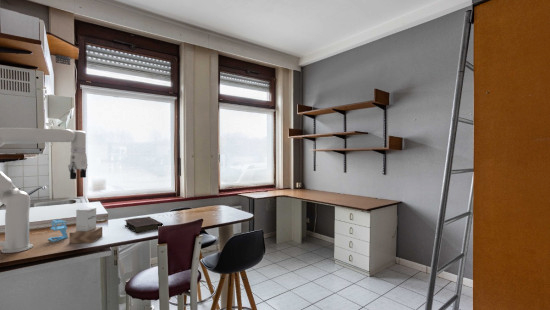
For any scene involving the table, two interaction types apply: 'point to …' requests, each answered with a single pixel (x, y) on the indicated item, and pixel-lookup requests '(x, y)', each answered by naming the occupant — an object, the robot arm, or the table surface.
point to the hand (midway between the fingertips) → (78, 178)
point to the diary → (142, 224)
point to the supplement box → (85, 219)
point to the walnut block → (85, 236)
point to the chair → (61, 228)
